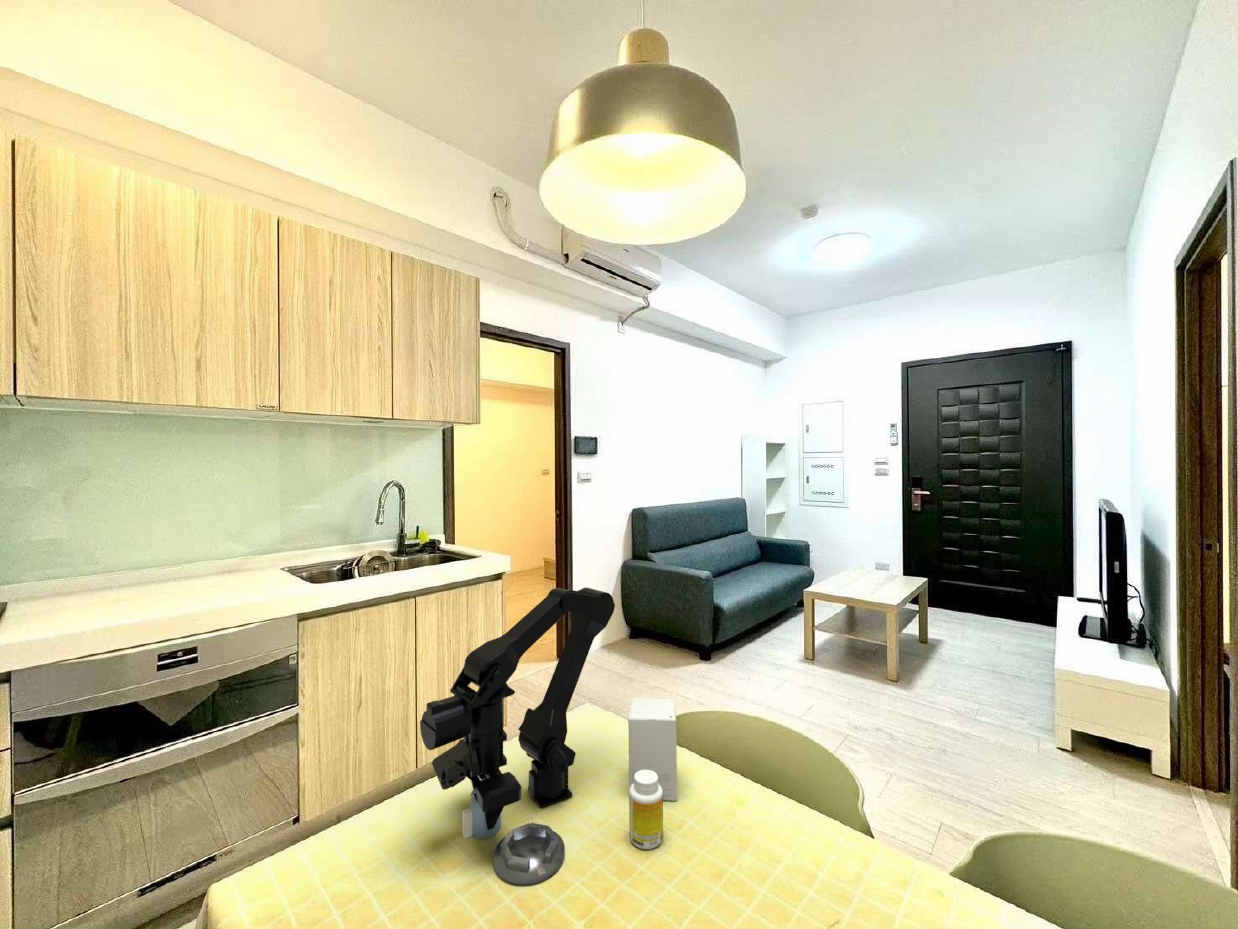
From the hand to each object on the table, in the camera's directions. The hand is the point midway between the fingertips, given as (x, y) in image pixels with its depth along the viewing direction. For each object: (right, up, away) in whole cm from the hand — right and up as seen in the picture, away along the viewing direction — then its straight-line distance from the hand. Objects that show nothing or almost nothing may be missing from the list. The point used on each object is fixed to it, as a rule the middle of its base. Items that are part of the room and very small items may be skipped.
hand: (485, 819), depth 86 cm
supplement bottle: (+27, -2, -2) cm, 27 cm away
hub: (+9, -1, -7) cm, 11 cm away
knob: (0, -2, 0) cm, 2 cm away
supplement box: (+29, -2, +12) cm, 31 cm away
